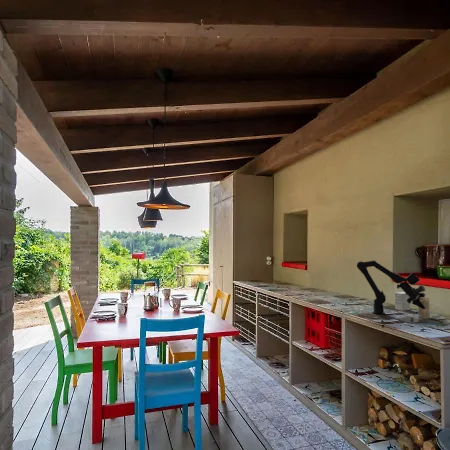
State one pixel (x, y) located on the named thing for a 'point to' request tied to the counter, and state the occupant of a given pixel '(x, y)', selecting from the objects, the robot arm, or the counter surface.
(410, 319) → the post plate
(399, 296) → the supplement box
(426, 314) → the birch post
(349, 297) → the counter surface
